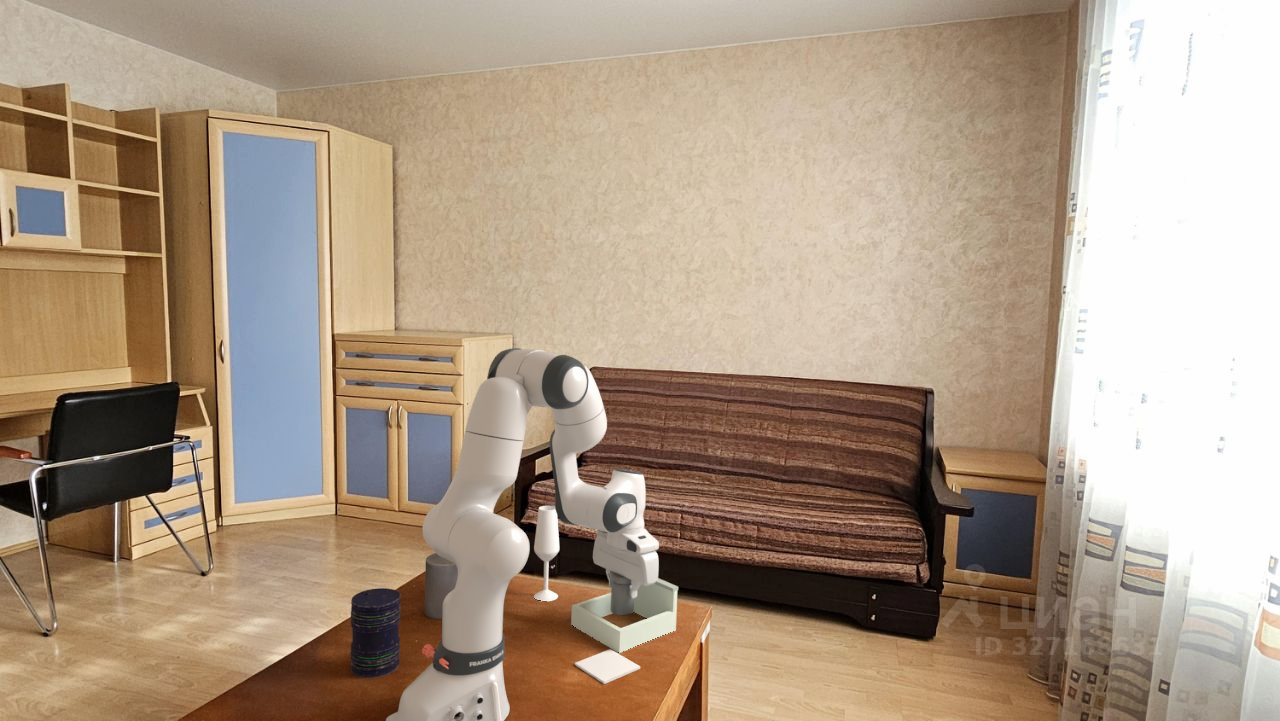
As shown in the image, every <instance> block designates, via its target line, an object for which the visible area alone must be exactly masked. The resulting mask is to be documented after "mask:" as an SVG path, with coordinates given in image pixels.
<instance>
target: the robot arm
mask: <svg viewBox="0 0 1280 721" xmlns="http://www.w3.org/2000/svg"><path fill="white" fill-rule="evenodd" d="M474 396H475V397H474V399H473V402H472V405H471V407H470V411H469V414H468V418H467V421H466V425H465V430H464V435H463V439H462V444H461V449H460V453H459V459H458V461H457V462H458V463H457V466H456V468H455V469H456V470H455V473H454V476H453V478H452V480H451V483H450V484H449V486H448V488H447V491H446V492H445V494H444V496H443V497H442V499H441V500H440V501H439V502H438V503H437V504H435V505H434V506H433V507H431V509H429V511H428V512H427V513H426V515H425V517H424V520H423V523H422V536H423V539H424V541H425V542H426V543H427V545H428V546H429V547H430V548H431V549H432V551H434V553H437V554H438V555H439V556H441V557H443V558H445V559H447V560H449V561H451V562H452V563H454V564H456V566H457V569H458V578H457V582H456V586H455V589H454V590H452V591H451V592H450V593H449V594H448V595H447V596H446V597H445V599H444V601H443V615H442V619H441V620H442V622H441V623H442V624H441V625H442V626H441V628H442V630H441V632H442V633H441V639H440V641H439V643H438V645H437V649H436V648H435V647H433V645H432V644H431V643H427V644H425V645H424V646H423V647H422V649H421V652H422V653H421V654H423V656H425V657H426V658H427V659H432V658H433V659H432V662H431V664H429V665H428V666H427V667H426V668H425V669H424V671H422V672H421V673H420V674H419V675H418V676H417V677H416V678H415V679H414V680H413V681H412V682H411V683H410V684H409V685H408V686H407V687H406V688H405V689H404V690H403V692H402V693H401V696H400V700H399V704H398V710H397V711H396V712H394V713H392V714H390V715H388V716H387V717H386V719H385V721H505V720H506V718H508V716H509V714H510V709H511V708H510V702H509V700H508V697H507V692H506V687H505V686H506V685H505V679H504V667H503V663H504V659H505V651H506V650H505V649H506V647H505V645H506V644H505V635H504V634H503V628H504V626H503V624H504V603H505V597H506V593H507V589H508V587H509V584H510V582H511V580H512V578H515V577H516V576H517V575H519V573H520V572H521V571H522V570H523V569H524V567H525V565H526V563H527V561H528V558H529V557H530V556H529V555H530V540H529V538H528V536H527V534H526V532H524V530H523V529H522V528H520V527H519V526H518V525H517V524H516V523H514V522H513V521H511V519H509V518H506V517H503V516H502V515H499V514H496V513H494V510H495V507H496V504H497V502H498V500H499V498H500V496H501V494H502V493H503V492H504V491H505V490H506V489H508V488H509V487H511V486H512V485H514V483H515V481H516V480H517V477H518V474H519V473H518V472H519V467H520V462H521V458H522V451H523V448H524V441H525V436H526V432H527V431H526V430H527V424H528V423H527V421H528V414H529V412H530V411H531V409H532V408H533V407H538V408H550V410H551V415H552V418H553V422H554V430H552V432H551V434H550V438H549V454H550V461H551V470H552V475H553V476H552V477H553V485H554V494H555V495H554V506H555V510H556V513H557V518H558V519H559V521H560V522H562V523H564V524H565V525H571V526H578V527H580V526H581V527H584V528H588V529H590V530H591V529H592V530H597V531H596V538H595V540H594V545H593V550H592V559H593V563H594V564H595V565H597V566H599V567H601V568H603V569H605V573H606V577H607V580H608V588H610V589H611V586H612V581H611V580H610V572H611V571H612V572H615V573H617V574H619V575H621V576H623V577H626V578H628V579H630V580H631V584H633V585H632V588H631V589H628V596H629V597H631V598H635V597H637V590H638V589H639V587H640V585H643V586H649V585H652V584H655V583H656V581H657V580H658V578H659V571H660V570H659V568H660V566H659V565H660V564H659V562H660V561H659V555H658V553H657V550H659V548H660V542H659V541H658V540H657V539H656V538H655V537H654V536H653V535H652V534H651V533H649V531H648V530H647V529H646V528H645V520H644V511H645V509H646V502H647V501H646V494H647V492H646V491H647V490H646V481H645V476H644V474H643V473H641V472H639V471H637V470H632V469H625V468H616V469H614V470H612V473H611V479H610V481H609V482H608V483H607V484H606V485H604V486H603V487H601V486H598V485H597V486H596V485H591V484H589V483H586V482H585V481H583V480H582V479H580V477H579V471H578V462H577V454H581V453H584V452H587V451H589V450H591V449H592V448H594V447H595V446H597V445H598V444H599V443H600V442H601V441H602V439H603V438H604V437H605V434H606V432H607V428H608V419H607V415H606V410H605V406H604V402H603V400H602V396H601V393H600V390H599V388H598V385H597V383H596V381H595V378H594V376H593V374H592V372H591V371H590V369H589V368H588V367H587V366H586V365H585V364H583V363H582V362H581V361H580V360H578V359H577V358H575V357H573V356H570V355H566V354H558V353H554V352H549V351H546V350H543V349H536V348H535V349H533V348H532V349H531V348H530V349H529V348H527V349H526V348H519V347H513V348H508V349H504V350H501V351H500V352H498V353H497V354H496V355H495V357H494V358H493V360H492V361H491V363H490V366H489V368H488V372H487V379H486V380H484V381H483V382H482V383H481V384H480V385H479V387H478V389H477V392H476V394H475V395H474Z"/></svg>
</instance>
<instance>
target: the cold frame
mask: <svg viewBox="0 0 1280 721" xmlns="http://www.w3.org/2000/svg"><path fill="white" fill-rule="evenodd" d="M678 591H679V586H678V585H675V584H673V583H670V582H668V581H667V580H664V579H661V578H659V577H658V580H657V581H656V583H655V584H652V585H649V586H643V585H640V587H639V589H638V590H637V597H635V598H634V611H633V612H635V613H637V614H639V615H641V616H643V617H645V618H647V619H645V618H644V619H641V620H639V621H637V622H634V623H631V624H629V625H625V626H623V627H619V626H617V625H616V624H613V623H612V622H610V621H608V620H606V619H604V617H606V616H609V615H613V614H614V613H613V612H611V610H610V607H611V592H608V593H605V594H603V595H600V596H596V597H593V598H590V599H587V600H584V601H581V602H578V603H573V604H572V605H571V615H570V616H571V620H570V622H571V623H570V625H571V626H572V625H573V626H574V628H575V627H576V629H577V630H578V631H580V630H581V631H580V632H582V633H584V634H585V633H586V634H585V635H587V636H589V637H591V638H592V637H593V638H592V639H594V640H596V641H597V642H599V641H600V642H599V643H601V644H603V645H605V646H606V647H608V648H609V649H611V650H613V651H615V652H616V653H618V652H619V653H618V654H621V653H623V651H624V652H627V651H628V649H629V650H631V649H634V648H636V647H638V646H637V645H639V646H641V645H643V644H642V643H644V644H646V643H648V642H647V641H649V642H651V641H653V640H652V639H654V640H656V639H658V638H657V637H659V638H661V637H663V636H662V635H664V636H666V635H669V634H671V633H674V632H676V631H677V615H678V614H677V609H678ZM633 612H632V613H633ZM635 613H634V614H635ZM637 614H636V615H637ZM639 615H638V616H639ZM641 616H640V617H641ZM643 617H642V618H643ZM573 626H572V627H573ZM673 631H674V632H673ZM670 632H671V633H670ZM668 633H669V634H668ZM665 634H666V635H665ZM660 636H661V637H660ZM655 638H656V639H655ZM650 640H651V641H650ZM645 642H646V643H645ZM640 644H641V645H640ZM635 646H636V647H635ZM633 647H634V648H633ZM630 648H631V649H630Z"/></svg>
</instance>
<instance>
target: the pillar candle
mask: <svg viewBox="0 0 1280 721" xmlns="http://www.w3.org/2000/svg"><path fill="white" fill-rule="evenodd" d="M424 574H425V576H424V577H425V578H424V579H425V581H424V614H425V616H426V617H428V618H431V619H437V620H442V615H443V601H444V599H445V597H446V596H447V595H448V594H449V593H450V592H451V591H452V590H454V589H455V586H456V582H457V578H458V569H457V566H456V564H454V563H452V562H451V561H449V560H447V559H445V558H443V557H441V556H439V555H438V554H437V553H436V552H434V553H431V554H429V555H427V556H426V558H425V573H424Z"/></svg>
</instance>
